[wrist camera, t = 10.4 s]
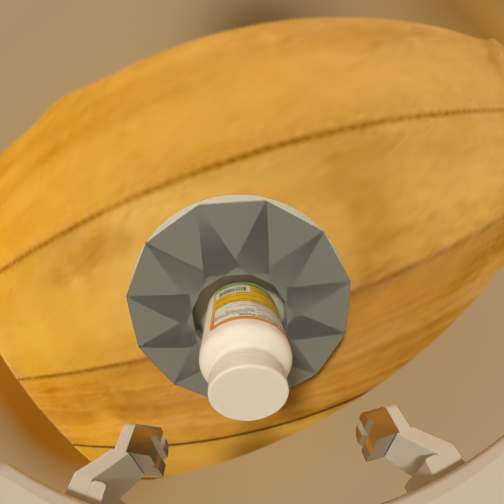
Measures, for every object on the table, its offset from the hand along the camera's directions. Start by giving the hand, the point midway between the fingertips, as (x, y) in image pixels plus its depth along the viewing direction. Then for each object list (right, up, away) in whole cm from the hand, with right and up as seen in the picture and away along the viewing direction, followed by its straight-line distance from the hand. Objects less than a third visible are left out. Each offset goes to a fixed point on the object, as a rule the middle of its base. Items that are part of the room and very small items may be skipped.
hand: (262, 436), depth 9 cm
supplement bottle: (-1, +3, +12) cm, 13 cm away
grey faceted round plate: (-1, +3, +13) cm, 13 cm away
